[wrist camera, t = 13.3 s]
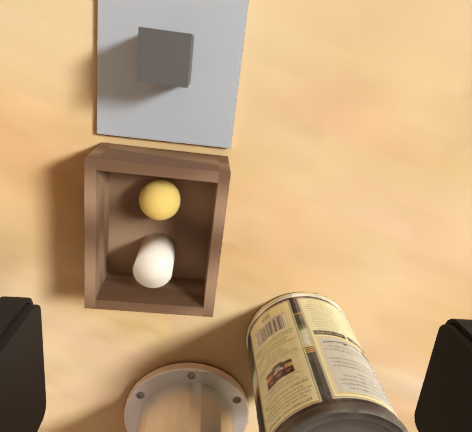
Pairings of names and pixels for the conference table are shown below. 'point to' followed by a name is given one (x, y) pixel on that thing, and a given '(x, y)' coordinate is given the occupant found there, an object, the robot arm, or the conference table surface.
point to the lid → (169, 69)
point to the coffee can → (313, 370)
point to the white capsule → (155, 260)
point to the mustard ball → (159, 199)
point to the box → (152, 228)
